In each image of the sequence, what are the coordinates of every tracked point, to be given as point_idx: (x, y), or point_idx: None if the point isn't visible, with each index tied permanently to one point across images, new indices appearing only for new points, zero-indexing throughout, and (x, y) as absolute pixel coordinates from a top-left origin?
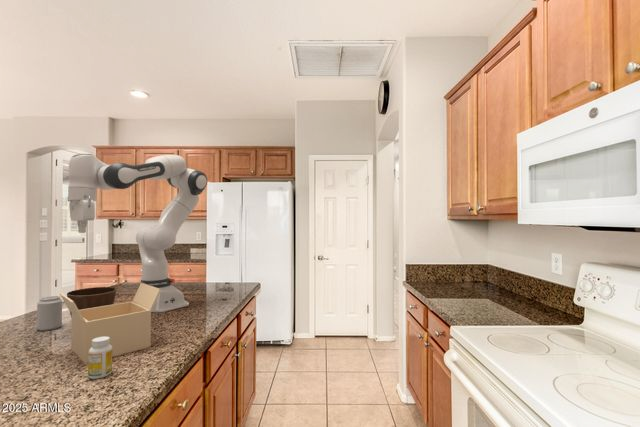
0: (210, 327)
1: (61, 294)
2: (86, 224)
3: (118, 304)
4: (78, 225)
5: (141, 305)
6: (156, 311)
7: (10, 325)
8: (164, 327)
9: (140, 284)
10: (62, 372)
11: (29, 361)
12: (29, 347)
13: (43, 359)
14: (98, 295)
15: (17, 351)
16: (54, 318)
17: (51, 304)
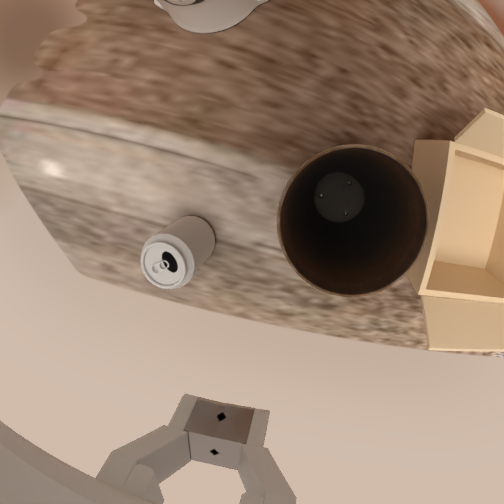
0: (492, 27)
1: (447, 350)
2: (287, 489)
3: (449, 182)
4: (165, 476)
5: (211, 21)
6: (261, 3)
7: (112, 277)
8: (424, 66)
9: (483, 115)
10: (481, 301)
11: (397, 320)
12: (315, 302)
13: (409, 305)
14: (426, 234)
15: (322, 319)
16: (208, 244)
17: (195, 265)
